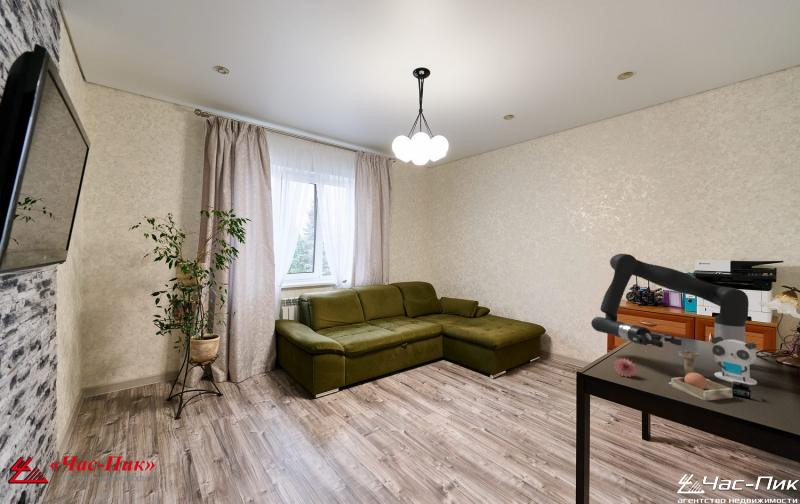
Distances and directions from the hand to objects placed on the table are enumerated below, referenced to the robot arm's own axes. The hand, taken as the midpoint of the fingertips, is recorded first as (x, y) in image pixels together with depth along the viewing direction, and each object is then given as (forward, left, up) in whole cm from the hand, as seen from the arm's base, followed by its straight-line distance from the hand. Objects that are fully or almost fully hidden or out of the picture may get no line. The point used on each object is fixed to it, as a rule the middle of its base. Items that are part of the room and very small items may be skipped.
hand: (671, 343), depth 122 cm
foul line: (-5, +3, -14) cm, 15 cm away
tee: (-13, -4, -14) cm, 19 cm away
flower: (+13, -7, -14) cm, 21 cm away
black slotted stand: (-10, +15, -15) cm, 23 cm away
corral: (0, +10, -14) cm, 17 cm away
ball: (0, +9, -11) cm, 14 cm away
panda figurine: (-25, +3, -14) cm, 29 cm away
